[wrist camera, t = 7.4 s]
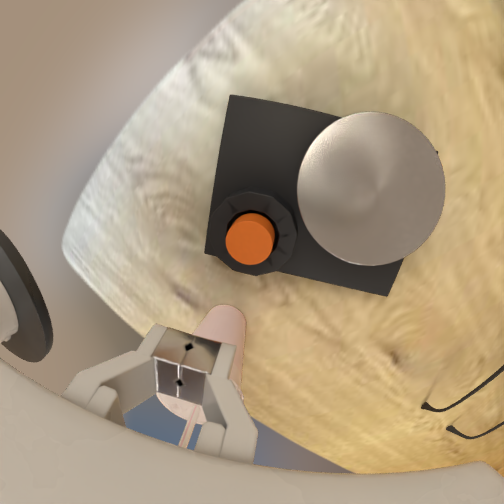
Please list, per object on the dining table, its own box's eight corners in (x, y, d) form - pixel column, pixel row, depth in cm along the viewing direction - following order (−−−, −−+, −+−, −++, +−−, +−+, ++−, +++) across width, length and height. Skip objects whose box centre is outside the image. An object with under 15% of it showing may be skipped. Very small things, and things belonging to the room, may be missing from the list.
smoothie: (200, 344, 29) (148, 462, 16) (187, 290, 26) (112, 411, 14) (263, 348, 28) (235, 479, 15) (258, 291, 25) (218, 434, 13)
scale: (208, 246, 24) (197, 262, 22) (234, 96, 19) (223, 91, 16) (383, 288, 23) (392, 308, 21) (431, 149, 18) (448, 154, 16)
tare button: (228, 248, 21) (222, 259, 20) (235, 208, 20) (229, 216, 18) (269, 258, 21) (267, 270, 19) (279, 218, 20) (277, 227, 18)
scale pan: (281, 242, 20) (280, 246, 19) (315, 93, 16) (316, 91, 15) (413, 275, 19) (415, 279, 19) (457, 143, 15) (461, 143, 15)
